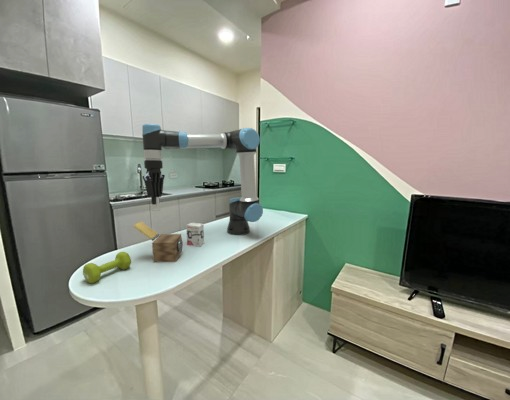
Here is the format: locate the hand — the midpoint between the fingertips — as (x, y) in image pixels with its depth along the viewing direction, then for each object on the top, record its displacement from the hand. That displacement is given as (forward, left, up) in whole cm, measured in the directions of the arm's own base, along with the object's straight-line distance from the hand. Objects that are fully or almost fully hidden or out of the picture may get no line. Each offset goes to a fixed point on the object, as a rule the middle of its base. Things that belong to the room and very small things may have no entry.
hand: (156, 210), depth 105 cm
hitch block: (-4, 0, -23) cm, 24 cm away
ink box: (-14, -16, -24) cm, 32 cm away
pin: (-4, 0, -21) cm, 21 cm away
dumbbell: (+15, +16, -24) cm, 32 cm away
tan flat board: (+6, 0, -10) cm, 12 cm away
